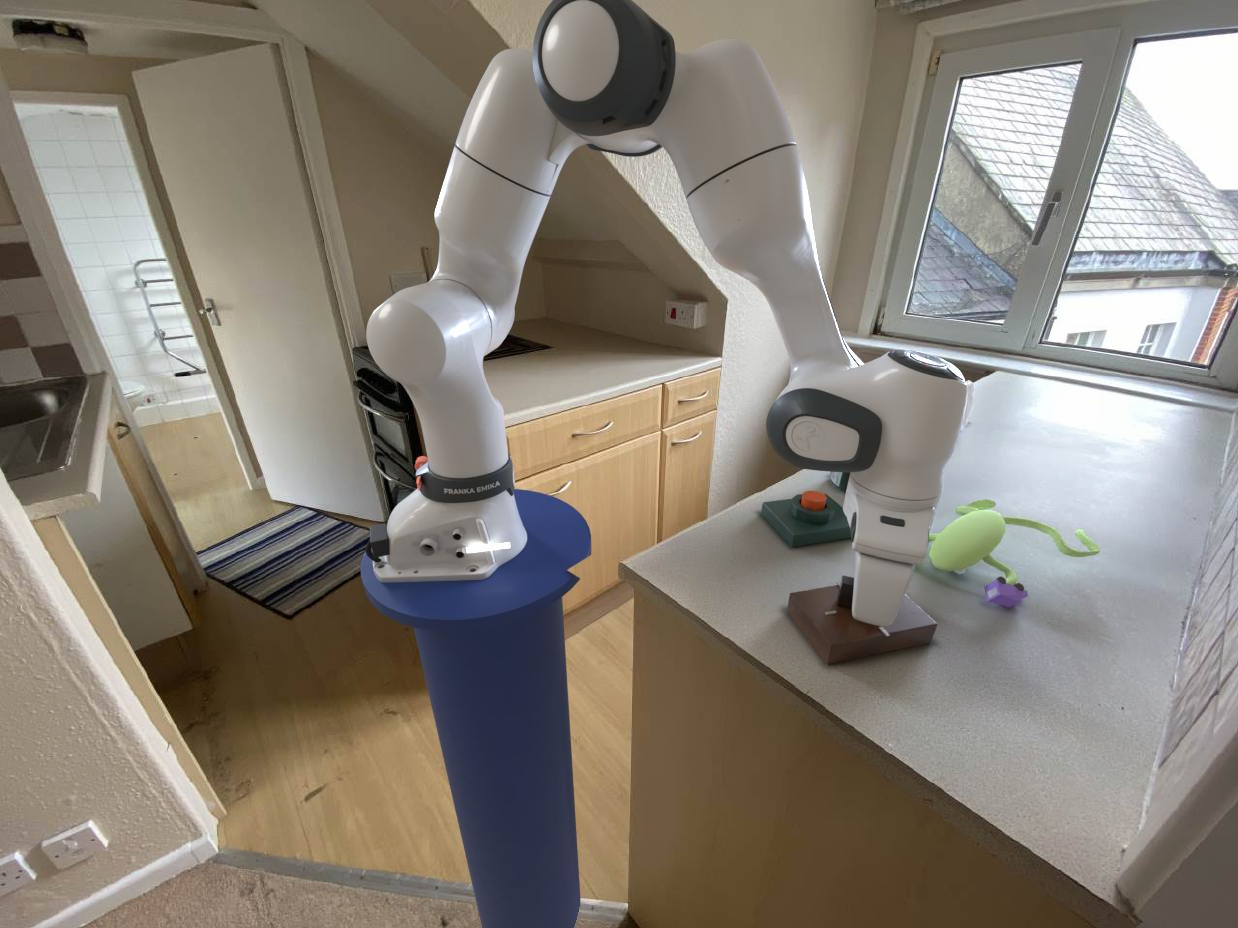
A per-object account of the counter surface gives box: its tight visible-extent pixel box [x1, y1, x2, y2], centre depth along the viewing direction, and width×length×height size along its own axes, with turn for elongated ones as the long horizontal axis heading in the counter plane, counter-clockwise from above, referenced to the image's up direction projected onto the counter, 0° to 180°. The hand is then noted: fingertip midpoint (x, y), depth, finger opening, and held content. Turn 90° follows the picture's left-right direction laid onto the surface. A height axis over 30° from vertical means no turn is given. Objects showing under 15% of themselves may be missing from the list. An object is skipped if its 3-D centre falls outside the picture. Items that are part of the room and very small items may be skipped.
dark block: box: [837, 574, 854, 609], centre depth 63 cm, size 6×2×4 cm, turn 68°
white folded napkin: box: [961, 380, 976, 431], centre depth 121 cm, size 12×4×11 cm, turn 143°
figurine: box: [928, 499, 1101, 608], centre depth 76 cm, size 18×27×6 cm
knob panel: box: [786, 581, 938, 665], centre depth 65 cm, size 14×10×3 cm
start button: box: [801, 490, 826, 511], centre depth 84 cm, size 4×4×2 cm
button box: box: [760, 493, 851, 548], centre depth 85 cm, size 12×10×4 cm
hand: (862, 602), depth 63 cm, fingers closed, pressing on dark block
